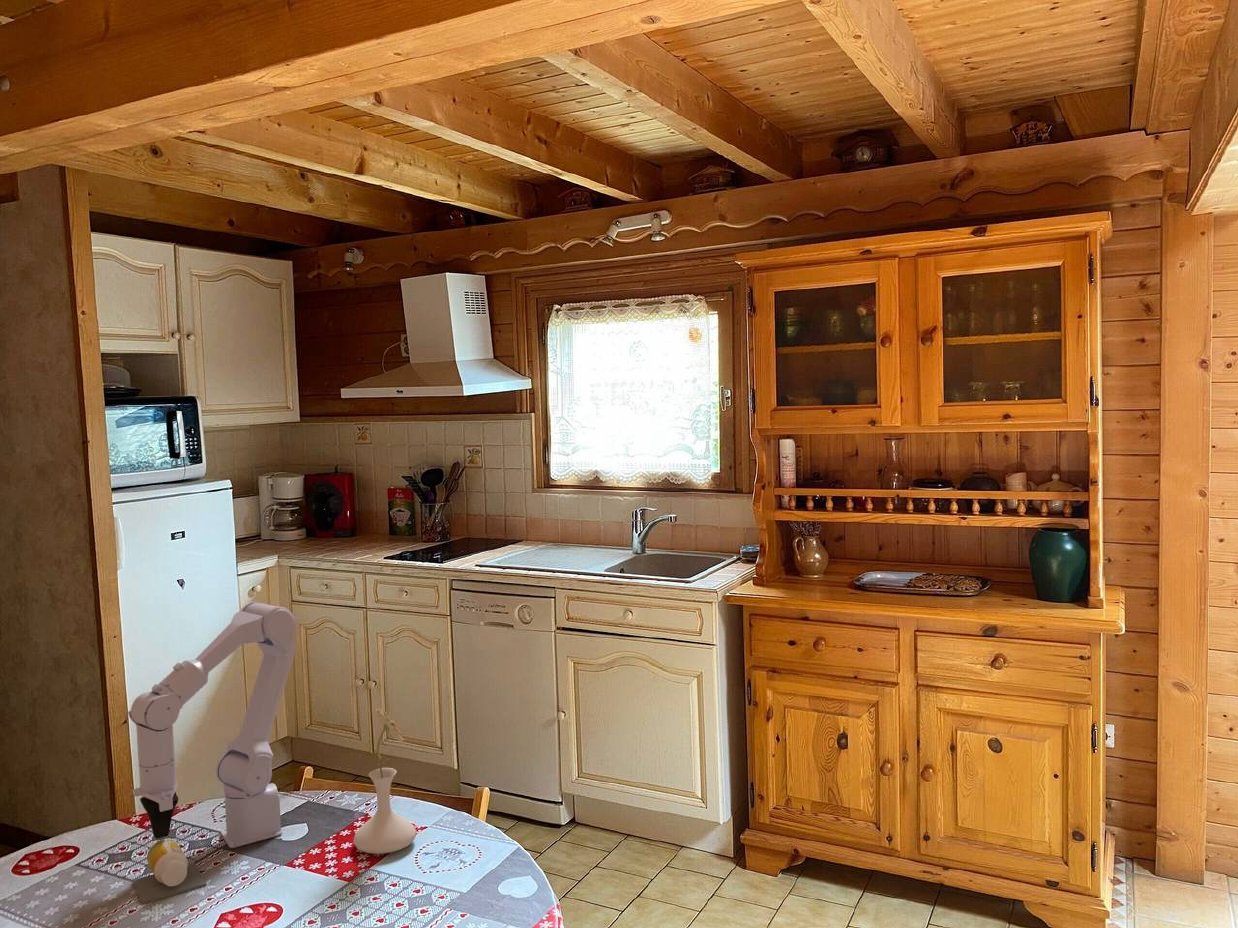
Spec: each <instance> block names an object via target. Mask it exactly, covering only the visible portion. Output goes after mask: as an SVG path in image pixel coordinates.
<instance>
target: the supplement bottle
mask: <svg viewBox="0 0 1238 928" xmlns="http://www.w3.org/2000/svg"><path fill="white" fill-rule="evenodd" d="M146 861H147V864H148V866H149V868H150V870H151V872H152V873H153V874H154V876H155V878H156V879H157V880H158V881H159V882H161V883H163V884H165V885H167V886H176V885H178V884H180V883H181V882H183V881H184V879H185V878H186V875H187V867H188V864H189V862H188V859H187V856H186V855H185V853H184V852H183V850H182V849H181V846H180V845H179V843H178V842H177V841H176V840H174V839H172V838H161V839H160V840H158V841H156V842H155V843H154V844H153V845H152V846H151V847H150V848H149V849H148V852H147V856H146ZM153 874H152V875H153Z"/></svg>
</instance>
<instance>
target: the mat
mask: <svg viewBox="0 0 1238 928" xmlns="http://www.w3.org/2000/svg"><path fill="white" fill-rule="evenodd" d="M199 869H200V868H199V867H198V866H197V864H196V862H193V863H188V867H187V875H186V878H185V879H184V881H183V882H181V883H180V884H178V885H176V886H167V885H165V884H163V883H161V882H159V881H158V880H157V879H156V878H155V876H154V874H150V875H145V876H142V877H139V878H134V879H133V880H132V882H133V885H134V888H135V890H136V893H137V896H138V898H139V900H140V903H141V905H145V904H148V903H151V902H154V901H155V902H156V901H159V900H161V899H165V898H169V897H173V896H176V895H178V894H182V893H186V892H189V891H193V890H195V889H200V888H203V887H207V882H206V880H205V879H204V876H203V875H202V873H201V871H200V870H199Z"/></svg>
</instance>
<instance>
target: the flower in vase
mask: <svg viewBox="0 0 1238 928" xmlns="http://www.w3.org/2000/svg"><path fill="white" fill-rule="evenodd" d="M374 713H375V715H376V717H377V719H378V720H379V722H380V723H381V724H382V727H383V729H382V731H381V733H380V735H379V738H378V741H377V745H376V747H375V746H374V747H373V749H374V752H375V755H376V757H377V763H378V764H377V765H376V766H377V767H378V768H376V769H372V770H371V771H370V772H369V773H368V777H369V778H370V779H371V780H372V783H373V785H374V787H375V791H376V796H377V797H376V798H377V808H376V811H375V813H374V815H373V816H372V817H370V818H369V819H368V820H367V821H366V822H365V823H363V825H361V826H360V827H359V829H357V831H356V832H355V834H354V837H353V840H352V842H353V845H354V846H355V847H356V848H357V849H358V850H359V851H360V852H364V853H365V854H366V853H367V854H374V855H375V854H377V855H379V854H383V855H384V854H389V853H394V852H397V851H400V850H402V849H405V848H406V847H408V846H410V845H411V844H412V843H413V842H414V840H415V838H416V837H417V829H416V827H415V826H414V824H413V823H412V822H410V821H409V820H407V818H404V817H403V816H401V815H398V814H397V813H396V812H394V811H393V809H392V807H391V800H390V799H391V797H390V795H391V788H392V787H391V785H392V782H393V779H394V777H395V776H396V774H397V771H398V770H396V769H395V768H392V767H382V765H383V764H384V763H385V762H387V761H389V760H391V758H389V757H387V758H386V759H384V760H383V761H381V760H382V758H381V755H380V753H379V750H380V749H379V748H380V744H381V741H382V738H383V736H384V733H385V731H386V732H388V733H389V734H390V736H392V737H393V738H394V739H395V740H396V741H397V742H400V743H402V742H404V740H405V738H403V737H402V736H404V735H403V733H402V731H400V730H399V729H398V728H397V727H396V726H397V723H396V721H394V720H392V719H390V717H389V715H388V713H387V712H386V711H385V710H383V711H382V709H381V708H380V707H378V708H376V709H375V710H374Z"/></svg>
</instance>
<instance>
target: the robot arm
mask: <svg viewBox="0 0 1238 928" xmlns="http://www.w3.org/2000/svg"><path fill="white" fill-rule="evenodd" d="M297 625H298V620H297V619H296V618H295V616H294V614H293V613H292V612H291V610H290V609H288V608H287V607H284V606H277V605H276V606H275V605H271V604H267V603H263V602H261V601H250V602H248V603H246V604H245V605H244V606H243V607H242V608H241V610H239V611H238V612H236V613H235V614H234V615H233V617H232V618H231V622H230V623H229V624H228V625H227V626H226V627H225V628H224V629H223V630H222V631H221V632H220V634H218V635H217V636H216V638H214V639H213V641H211V643H210V644H208V646H207V647H206V648H205V649H204V650H202V652H201V653H200V654H198V656H197V657H196V658H195V659H191V660H187V659H186V660H183V661H182V662H181V663H180V662H177V663H176V664H175V665H173V666H172V669H173V670H172V671H171V672H169V674H168V675H166V676H165V677H164V678H163V679H162V680H161V681H160V682H158V684H153V686H152V687H151V691H146V692H143V693H141V694H140V695H138V696H137V697H136V698H135V699H134V701H133V703H132V705H131V707H130V710H129V711H128V716H129V719H130V720H131V721H132V723H134V725H135V727H136V743H137V744H136V745H137V756H138V757H137V759H138V773H139V774H138V775H139V787H136V788H134V789H132V795H133V796H134V797H140V796H141V797H140V799H139V801H140V803H141V805H142V807H143V809H144V810H145V812H147V816H148V820H149V824H150V827H151V830H152V834H153V836H154V838H155V839H156V840H158V839H163V838H165V837H169V834H170V830H171V823H172V818H173V814H174V811H175V808H176V807H177V804H178V803H179V797H178V795H177V792H176V791H177V788H178V787H179V785H178V781H177V775H176V774H177V773H176V759H175V742H174V741H175V739H174V726H173V725H175V723H176V721H177V719H178V718H179V715H180V711H181V709H183V706H184V705H185V704H186V703H188V701H190V700H191V699H192V698H193V697H194V696H195V695H196V694H197V693H198V692H199V691H200V690H201V689H202V688H204V686H206V685H207V683H208V680H209V673H210V672H211V671H212V670H213V669H215V668H216V667H218V665H219V664H221V663H223V661H225V660H226V659H227V658H228V657H229V656H230V655H232V654H233V653H234V652H236V651H237V650H238V649H239V648H240V647H241V646H243V645H245V644H254V643H256V644H257V646H258V647H259V649H260V651H261V653H263V656H262V660H261V663H260V666H259V669H258V672H257V676H256V679H255V682H254V685H253V689H252V692H251V696H250V699H249V701H248V705H247V707H246V711H245V715H244V717H243V720H242V724H241V727H240V731H239V734H238V735H237V737H235V738H233V739H232V740H231V741H230V742H229V743H228V744H227V747H226V750H225V751H224V753H223V755H221V757H220V758H219V759H218V762H217V764H216V769H215V775H216V778H217V780H218V781H219V782H221V783H222V784H223V790H224V806H225V808H224V809H225V827H226V828H225V829H223V830H221V831H220V835H221V836H222V838H223V839H224V841H225V842H226V844H227V846H228V847H229V848H230V849H235V848H238V847H242V846H245V845H249V844H254V843H257V842H259V841H264V840H267V839H272V838H275V837H278V836H281V835H283V831H282V824H281V823H282V822H281V821H282V820H281V805H280V795H279V791H278V788H277V785H276V784H275V783H272V782H271V780H272V776H273V771H272V770H273V769H272V763H273V759H274V754H273V750H272V749H271V746H270V744H269V739H270V736H271V733H272V730H273V727H274V724H275V720H276V716H277V713H278V709H279V707H280V704H281V699H282V697H283V693H284V690H285V687H286V684H287V680H288V677H289V675H290V674H289V673H290V671H291V667H292V664H293V660H294V657H295V655H296V639H295V633H296V629H297ZM270 782H271V783H270Z"/></svg>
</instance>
